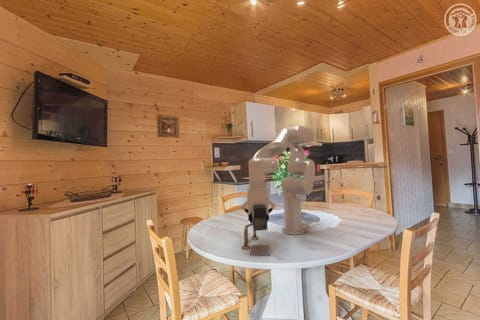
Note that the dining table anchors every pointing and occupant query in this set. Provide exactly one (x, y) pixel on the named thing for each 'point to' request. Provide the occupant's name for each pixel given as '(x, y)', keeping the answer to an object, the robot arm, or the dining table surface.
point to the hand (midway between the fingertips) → (258, 222)
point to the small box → (259, 218)
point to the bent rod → (247, 237)
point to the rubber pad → (260, 250)
